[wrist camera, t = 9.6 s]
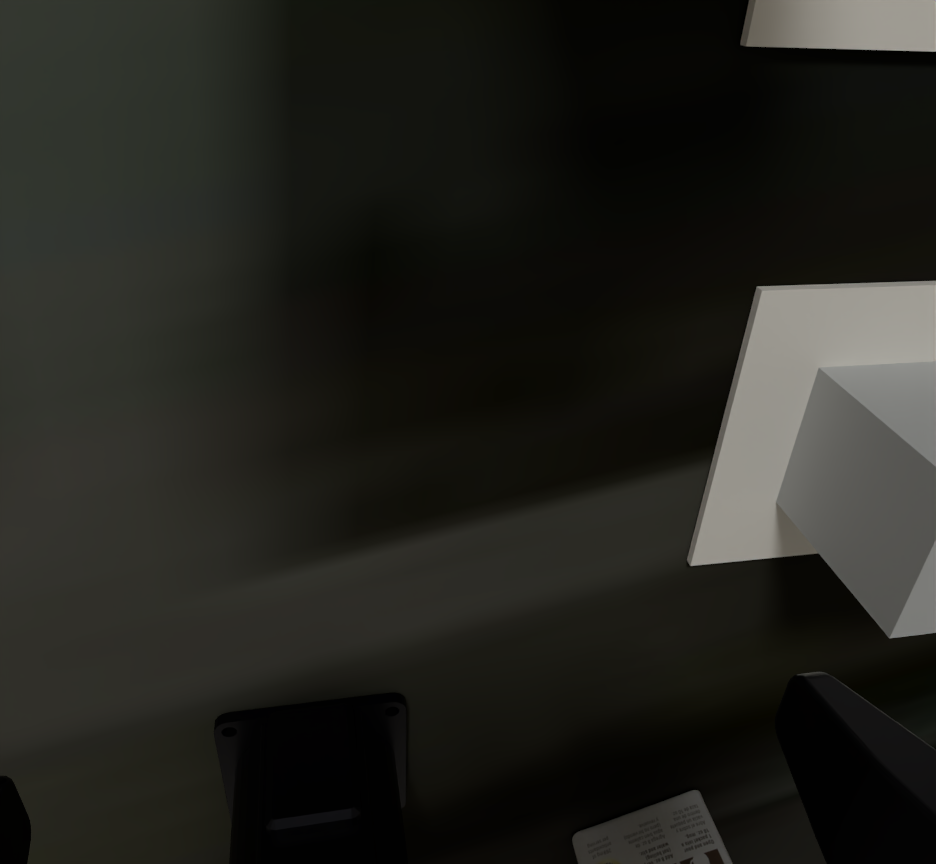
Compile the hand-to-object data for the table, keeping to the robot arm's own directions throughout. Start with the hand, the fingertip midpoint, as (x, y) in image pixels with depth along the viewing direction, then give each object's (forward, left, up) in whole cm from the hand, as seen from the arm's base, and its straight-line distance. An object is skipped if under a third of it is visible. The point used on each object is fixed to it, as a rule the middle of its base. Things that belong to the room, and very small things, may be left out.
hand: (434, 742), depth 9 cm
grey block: (-5, -16, -13) cm, 21 cm away
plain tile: (-5, -16, -13) cm, 21 cm away
